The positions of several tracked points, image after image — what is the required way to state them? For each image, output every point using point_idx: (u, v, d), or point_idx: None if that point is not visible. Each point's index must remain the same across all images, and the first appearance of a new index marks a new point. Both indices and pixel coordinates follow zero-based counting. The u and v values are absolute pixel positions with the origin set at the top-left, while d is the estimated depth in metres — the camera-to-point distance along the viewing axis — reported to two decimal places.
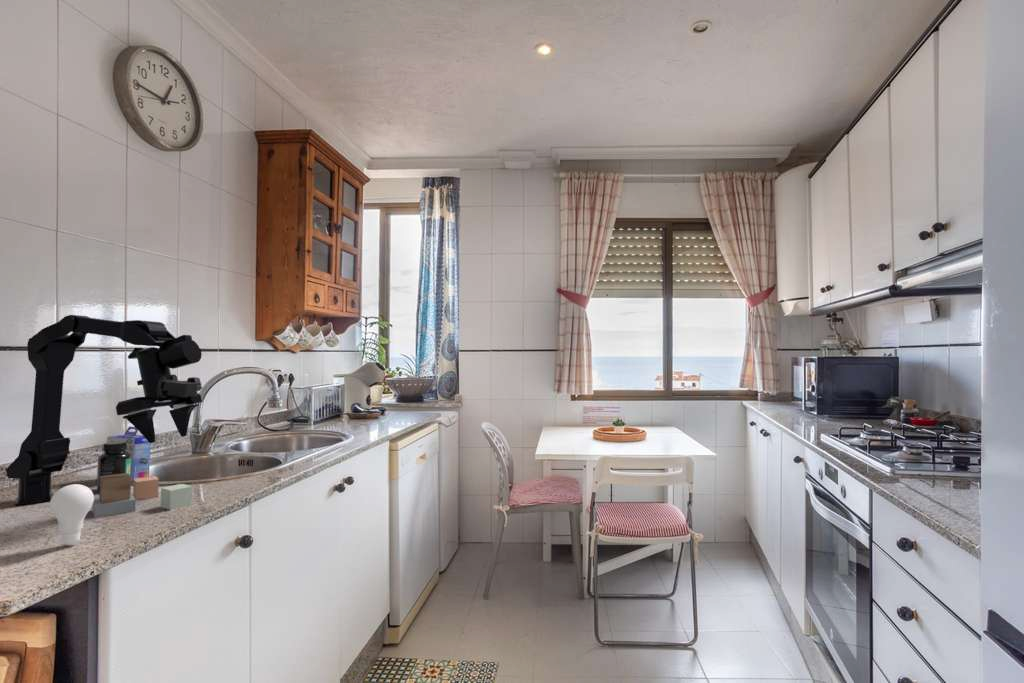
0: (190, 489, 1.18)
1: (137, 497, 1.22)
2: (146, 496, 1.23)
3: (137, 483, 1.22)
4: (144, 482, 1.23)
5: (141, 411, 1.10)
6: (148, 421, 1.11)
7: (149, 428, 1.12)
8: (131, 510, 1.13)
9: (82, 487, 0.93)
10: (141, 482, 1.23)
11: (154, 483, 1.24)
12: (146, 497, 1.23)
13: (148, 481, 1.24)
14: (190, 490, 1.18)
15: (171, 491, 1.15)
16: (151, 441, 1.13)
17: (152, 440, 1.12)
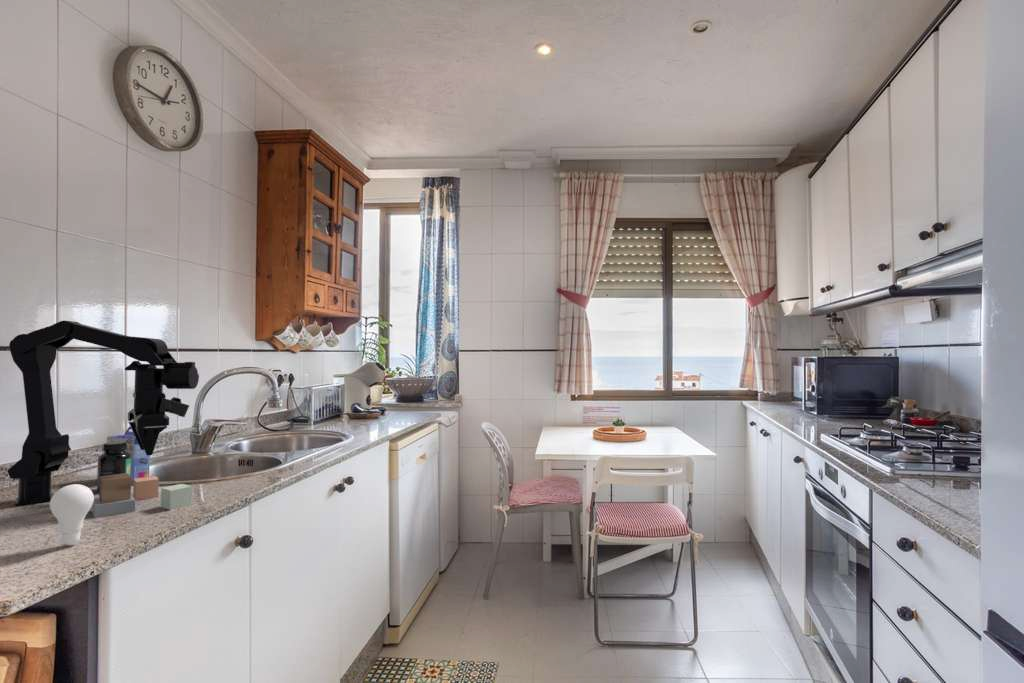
0: (190, 489, 1.18)
1: (137, 497, 1.22)
2: (146, 496, 1.23)
3: (137, 483, 1.22)
4: (144, 482, 1.23)
5: (162, 426, 1.21)
6: None
7: (155, 442, 1.22)
8: (131, 510, 1.13)
9: (82, 487, 0.93)
10: (141, 482, 1.23)
11: (154, 483, 1.24)
12: (146, 497, 1.23)
13: (148, 481, 1.24)
14: (190, 490, 1.18)
15: (171, 491, 1.15)
16: (149, 454, 1.22)
17: (151, 453, 1.22)
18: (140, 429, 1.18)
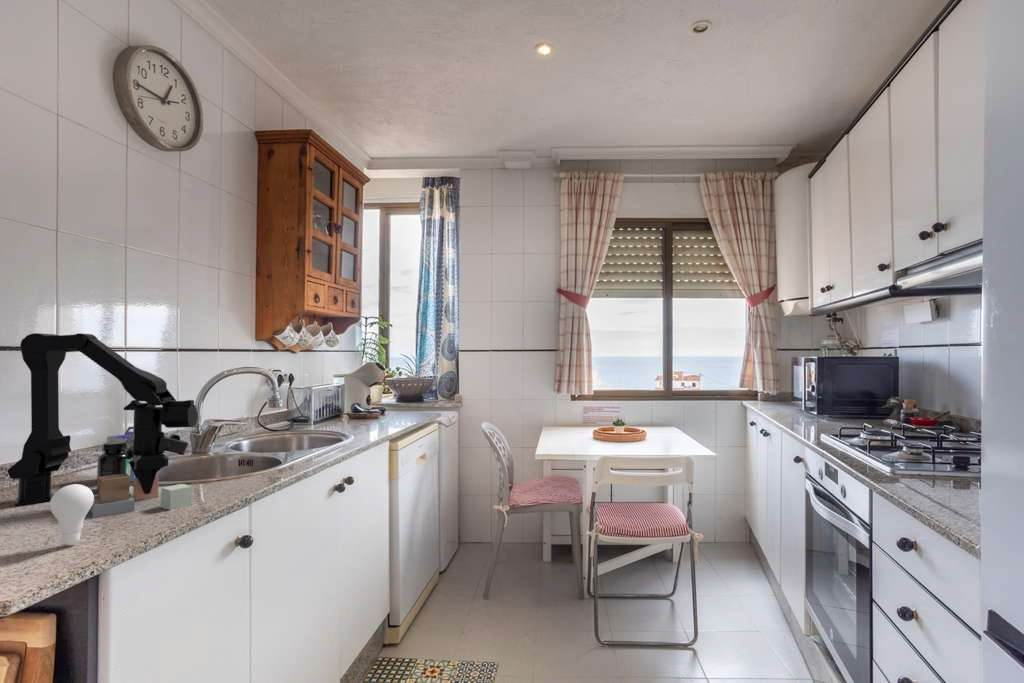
0: (190, 489, 1.18)
1: (137, 497, 1.22)
2: (146, 496, 1.23)
3: (137, 483, 1.22)
4: None
5: None
6: (155, 474, 1.23)
7: (153, 480, 1.23)
8: (130, 510, 1.13)
9: (82, 487, 0.93)
10: None
11: (154, 483, 1.24)
12: (146, 497, 1.23)
13: None
14: (190, 490, 1.18)
15: (171, 491, 1.15)
16: (147, 492, 1.23)
17: (149, 491, 1.23)
18: (138, 469, 1.19)
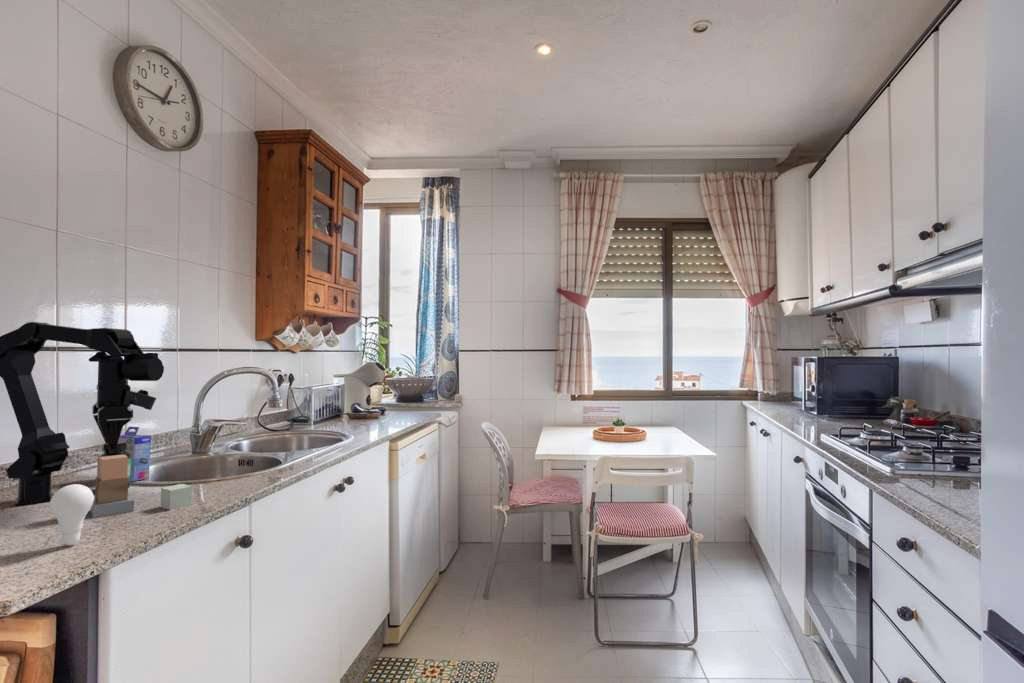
0: (190, 489, 1.18)
1: (103, 476, 1.11)
2: (114, 475, 1.12)
3: (103, 461, 1.11)
4: (111, 460, 1.12)
5: (126, 419, 1.17)
6: (121, 428, 1.18)
7: (119, 435, 1.18)
8: (129, 510, 1.13)
9: (82, 487, 0.93)
10: (108, 460, 1.11)
11: (122, 462, 1.13)
12: (114, 477, 1.12)
13: (116, 459, 1.12)
14: (190, 490, 1.18)
15: (171, 491, 1.15)
16: (113, 447, 1.18)
17: (115, 446, 1.18)
18: (102, 422, 1.14)
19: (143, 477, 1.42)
